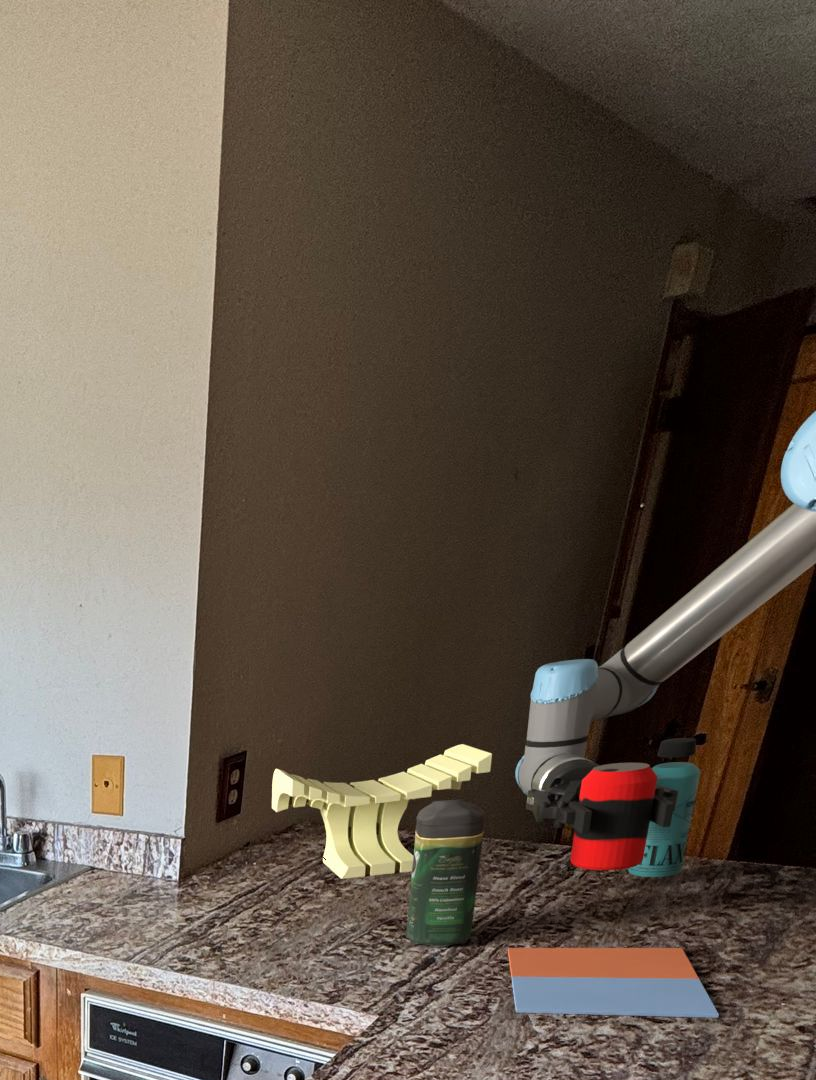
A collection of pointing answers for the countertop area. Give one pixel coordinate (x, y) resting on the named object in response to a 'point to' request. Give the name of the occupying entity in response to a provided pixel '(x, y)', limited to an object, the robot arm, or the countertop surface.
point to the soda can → (615, 816)
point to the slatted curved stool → (374, 809)
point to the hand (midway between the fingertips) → (627, 819)
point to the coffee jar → (445, 873)
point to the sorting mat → (608, 982)
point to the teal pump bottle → (670, 842)
